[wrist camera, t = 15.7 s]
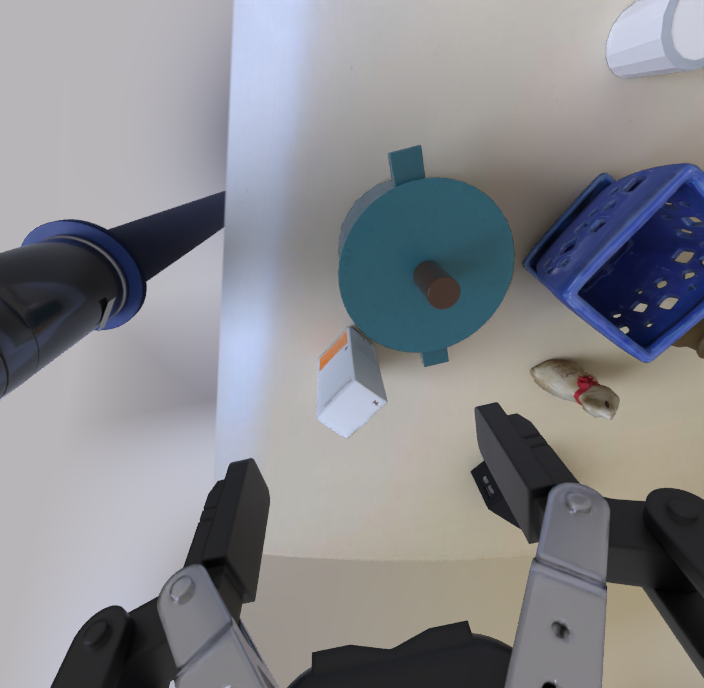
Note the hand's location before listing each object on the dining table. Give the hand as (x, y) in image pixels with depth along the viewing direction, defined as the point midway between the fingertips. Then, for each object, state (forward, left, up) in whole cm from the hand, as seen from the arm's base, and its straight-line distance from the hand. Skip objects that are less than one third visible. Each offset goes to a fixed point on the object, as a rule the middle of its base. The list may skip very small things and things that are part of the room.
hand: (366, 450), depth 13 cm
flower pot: (+27, -6, -30) cm, 41 cm away
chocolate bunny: (+25, -23, -30) cm, 46 cm away
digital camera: (+17, -40, -30) cm, 53 cm away
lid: (+7, -1, -20) cm, 21 cm away
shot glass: (+31, +12, -30) cm, 45 cm away
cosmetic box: (-2, -12, -30) cm, 33 cm away
